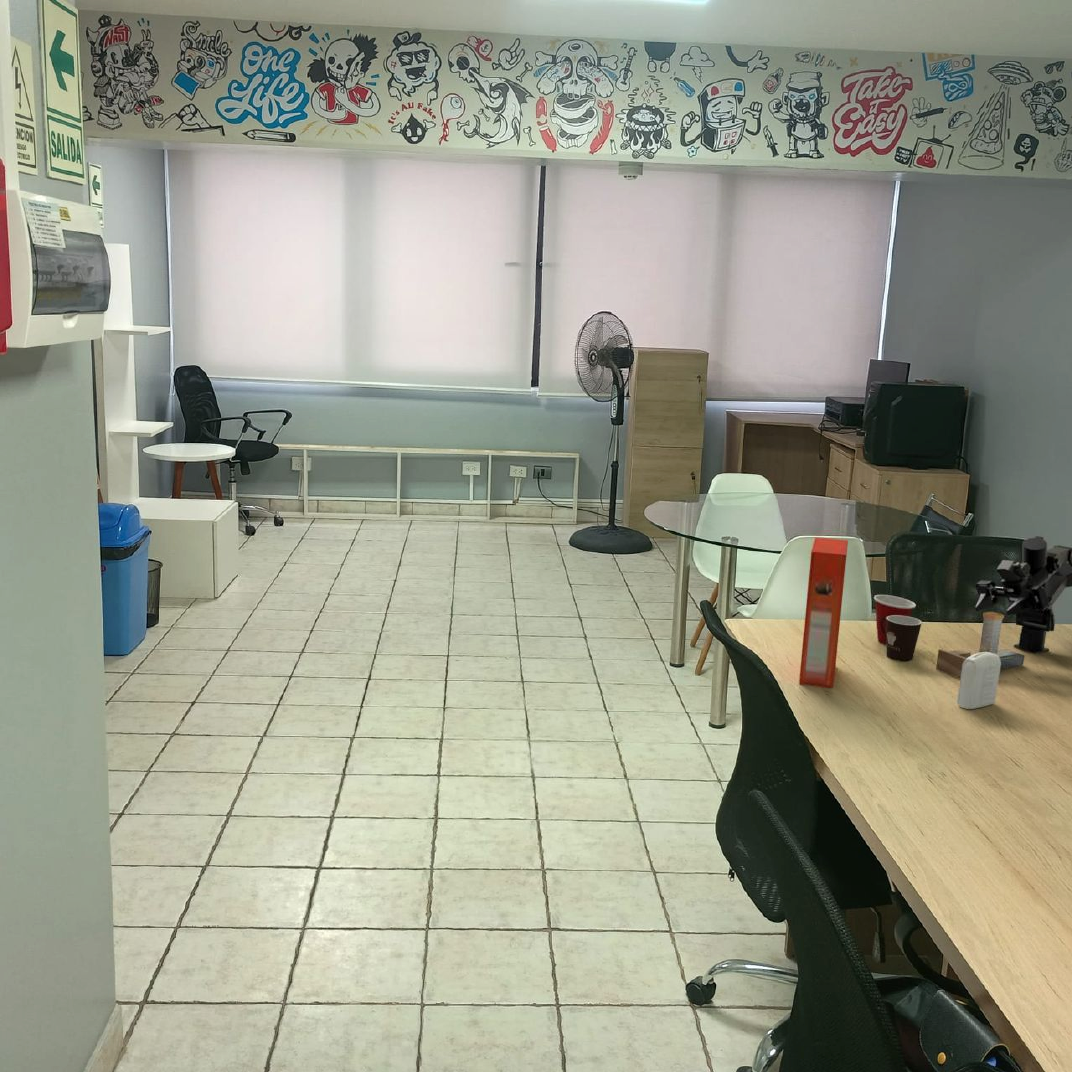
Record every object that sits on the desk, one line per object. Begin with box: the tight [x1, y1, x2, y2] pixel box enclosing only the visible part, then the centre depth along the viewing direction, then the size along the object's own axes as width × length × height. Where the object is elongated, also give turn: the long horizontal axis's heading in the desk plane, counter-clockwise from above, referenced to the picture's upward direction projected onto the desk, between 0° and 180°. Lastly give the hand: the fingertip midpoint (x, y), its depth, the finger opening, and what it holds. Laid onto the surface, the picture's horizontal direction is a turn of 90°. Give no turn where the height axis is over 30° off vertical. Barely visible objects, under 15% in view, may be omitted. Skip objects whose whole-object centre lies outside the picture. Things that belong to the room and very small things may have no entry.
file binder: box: [798, 537, 849, 689], centre depth 261 cm, size 8×17×32 cm, turn 163°
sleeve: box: [999, 649, 1025, 671], centre depth 278 cm, size 12×5×3 cm, turn 120°
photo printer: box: [956, 652, 1001, 710], centre depth 247 cm, size 10×4×12 cm, turn 123°
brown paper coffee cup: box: [880, 615, 923, 663], centre depth 281 cm, size 12×9×10 cm
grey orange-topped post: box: [978, 611, 1018, 658], centre depth 276 cm, size 13×3×13 cm, turn 120°
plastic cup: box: [873, 594, 917, 646], centre depth 292 cm, size 11×11×12 cm
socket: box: [935, 648, 972, 679], centre depth 271 cm, size 9×9×5 cm
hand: (991, 611), depth 276 cm, fingers open, 9 cm apart
